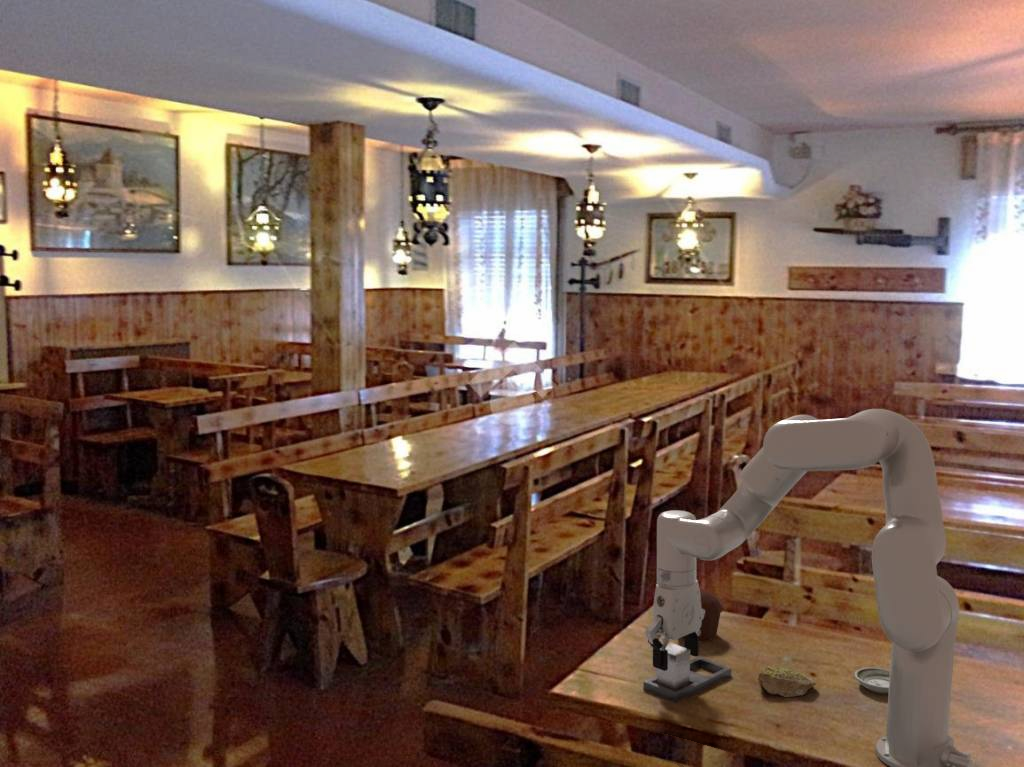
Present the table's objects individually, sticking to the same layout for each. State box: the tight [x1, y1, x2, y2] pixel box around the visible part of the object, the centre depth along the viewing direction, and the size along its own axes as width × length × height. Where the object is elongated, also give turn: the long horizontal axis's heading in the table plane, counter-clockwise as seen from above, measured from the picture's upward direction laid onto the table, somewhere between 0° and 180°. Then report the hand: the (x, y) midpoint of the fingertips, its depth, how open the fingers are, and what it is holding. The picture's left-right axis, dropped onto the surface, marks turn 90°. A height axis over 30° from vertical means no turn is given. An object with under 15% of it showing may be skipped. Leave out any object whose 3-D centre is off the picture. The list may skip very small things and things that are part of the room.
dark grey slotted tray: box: [643, 656, 732, 703], centre depth 191 cm, size 8×18×2 cm, turn 133°
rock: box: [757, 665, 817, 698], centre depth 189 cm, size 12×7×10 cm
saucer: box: [853, 667, 890, 695], centre depth 189 cm, size 10×10×2 cm
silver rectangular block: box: [656, 642, 691, 692], centre depth 187 cm, size 4×4×8 cm
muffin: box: [681, 587, 724, 642], centre depth 215 cm, size 12×11×10 cm
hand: (675, 661), depth 186 cm, fingers open, 9 cm apart
